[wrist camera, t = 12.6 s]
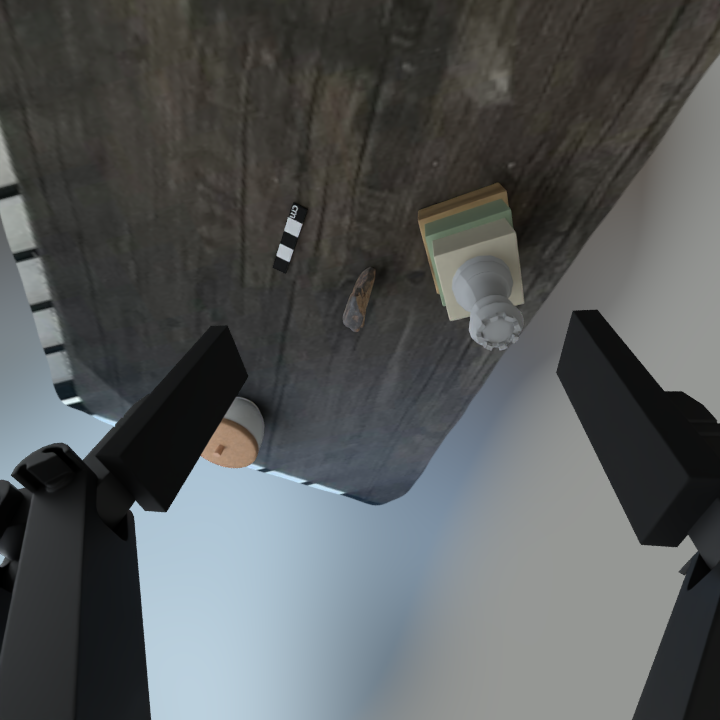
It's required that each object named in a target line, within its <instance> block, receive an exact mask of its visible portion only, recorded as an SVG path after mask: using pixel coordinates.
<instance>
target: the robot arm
mask: <svg viewBox="0 0 720 720" xmlns="http://www.w3.org/2000/svg"><path fill="white" fill-rule="evenodd" d="M556 373H557V375H558V377H559V379H560V381H561V383H562V385H563V387H564V389H565V391H566V393H567V395H568V397H569V399H570V401H571V403H572V405H573V407H574V409H575V412H576V414H577V416H578V418H579V420H580V422H581V424H582V426H583V428H584V430H585V432H586V434H587V436H588V438H589V440H590V442H591V444H592V446H593V448H594V450H595V452H596V454H597V456H598V458H599V460H600V462H601V464H602V466H603V469H604V471H605V473H606V475H607V477H608V479H609V481H610V483H611V485H612V487H613V489H614V491H615V493H616V495H617V497H618V499H619V501H620V503H621V505H622V507H623V509H624V511H625V514H626V515H627V518H628V519H629V522H630V524H631V526H632V528H633V530H634V532H635V534H636V536H637V538H638V540H639V542H640V544H641V545H652V546H666V547H667V546H668V547H678V546H679V544H680V543H681V542H682V541H683V540H684V539H685V537H686V536H687V535H689V537H690V538H691V540H692V541H693V543H694V545H695V546H696V548H697V550H698V552H697V553H696V554H695V555H694V556H693V557H692V558H691V559H690V560H689V561H688V562H687V563H686V564H685V565H684V566H683V567H682V569H681V570H680V571H679V572H680V573H681V574H683V575H685V574H686V576H685V579H684V581H683V584H682V587H681V589H680V592H679V595H678V598H677V600H676V603H675V606H674V608H673V611H672V614H671V616H670V619H669V622H668V624H667V627H666V630H665V633H664V635H663V638H662V641H661V643H660V646H659V649H658V651H657V654H656V657H655V659H654V662H653V665H652V667H651V670H650V673H649V676H648V678H647V681H646V684H645V686H644V689H643V692H642V694H641V697H640V700H639V702H638V705H637V708H636V711H635V714H634V716H633V719H632V720H720V423H719V424H718V423H717V420H716V419H715V418H714V416H713V415H712V414H711V413H710V412H709V411H708V410H707V409H706V408H705V407H704V405H702V404H701V403H699V402H698V401H696V400H695V399H693V398H691V397H690V396H688V395H687V394H685V393H684V392H682V391H679V392H678V391H672V392H670V391H664V390H663V389H662V388H661V387H660V385H659V384H658V383H657V382H656V381H655V379H654V378H653V377H652V376H651V375H650V373H649V372H648V371H647V370H646V368H645V367H644V366H643V365H642V364H641V362H640V361H639V360H638V359H637V358H636V356H635V355H634V354H633V353H632V352H631V350H630V349H629V348H628V347H627V345H626V344H625V343H624V342H623V340H622V339H621V338H620V337H619V336H618V334H617V333H616V332H615V331H614V330H613V328H612V327H611V326H610V325H609V323H608V322H607V321H606V320H605V319H604V317H603V316H602V315H601V314H600V312H599V311H598V310H580V311H579V310H578V311H573V312H572V316H571V319H570V323H569V327H568V331H567V334H566V338H565V342H564V346H563V349H562V353H561V357H560V361H559V364H558V368H557V372H556ZM247 378H248V374H247V372H246V369H245V367H244V364H243V362H242V360H241V357H240V355H239V352H238V350H237V347H236V345H235V343H234V340H233V338H232V335H231V333H230V330H229V328H228V326H227V325H226V326H210V328H209V329H208V330H207V331H206V332H205V333H204V334H203V335H202V337H201V338H200V339H199V340H198V341H197V342H196V343H195V344H194V345H193V347H192V348H191V349H190V350H189V351H188V352H187V353H186V354H185V356H184V357H183V358H182V359H181V360H180V361H179V362H178V363H177V364H176V366H175V367H174V368H173V369H172V370H171V371H170V372H169V373H168V375H167V376H166V377H165V378H164V379H163V380H162V381H161V382H160V383H159V385H158V386H157V387H156V388H155V389H154V390H153V391H152V392H151V394H148V395H146V396H145V397H143V398H142V399H141V400H139V401H138V402H136V403H135V404H134V405H133V406H132V407H131V408H130V409H129V410H128V411H127V412H126V413H125V415H124V418H121V419H120V420H119V421H118V422H117V423H116V424H115V427H113V428H112V429H111V430H110V431H109V432H108V433H107V434H106V435H105V436H104V438H103V439H102V440H101V441H100V442H99V443H98V444H97V445H96V446H95V447H94V448H93V449H92V451H91V452H90V453H89V454H88V455H87V456H86V457H85V458H84V459H83V460H81V458H80V457H78V455H77V454H76V453H75V452H74V451H73V450H72V449H71V448H70V447H69V446H68V445H66V444H64V443H54V444H51V445H48V446H45V447H42V448H41V449H39V450H37V451H35V452H33V453H31V454H30V455H29V456H27V457H26V458H25V459H23V460H22V461H21V462H20V463H19V464H18V465H17V466H16V467H15V469H14V471H13V472H12V474H11V476H12V477H14V478H15V479H16V480H17V481H18V482H19V483H21V484H22V485H23V486H24V487H25V488H22V489H17V488H16V487H15V486H13V485H12V484H11V483H10V482H8V481H5V480H0V554H1V555H3V556H5V559H4V561H3V563H2V564H1V565H0V720H151V713H150V702H149V691H148V678H147V666H146V654H145V642H144V630H143V618H142V606H141V594H140V582H139V571H138V559H137V548H136V535H135V523H134V516H133V513H132V512H131V511H130V510H129V509H130V507H131V506H132V505H133V503H134V502H135V500H136V501H137V502H138V504H139V505H140V506H141V507H142V508H143V509H144V510H145V511H155V512H167V510H168V509H169V507H170V505H171V504H172V502H173V501H174V499H175V497H176V495H177V493H178V492H179V490H180V489H181V487H182V485H183V484H184V482H185V481H186V479H187V477H188V476H189V474H190V472H191V471H192V469H193V467H194V465H195V464H196V462H197V461H198V459H199V457H200V456H201V454H202V452H203V451H204V449H205V447H206V446H207V444H208V443H209V441H210V439H211V438H212V436H213V434H214V433H215V431H216V429H217V428H218V426H219V424H220V423H221V421H222V419H223V418H224V416H225V414H226V413H227V411H228V409H229V408H230V406H231V404H232V403H233V401H234V399H235V398H236V396H237V394H238V393H239V391H240V389H241V388H242V386H243V385H244V383H245V381H246V380H247Z"/></svg>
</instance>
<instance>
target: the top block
mask: <svg viewBox="0 0 720 720" xmlns="http://www.w3.org/2000/svg"><path fill="white" fill-rule="evenodd" d="M432 244H433V255H434V260H435V264H436V268H437V272H438V276H439V280H440V284H441V288H442V292H443V295H444V299H445V303H446V307H447V311H448V315H449V319H450V321H453V320H457V319H461V318H466V317H470V313H471V312H468V311H466V310H465V309H463V308H462V307H461V306H460V305H459V304H458V303H457V301H456V298H455V296H454V293H453V290H452V281H453V277H454V275H455V273H456V271H457V269H458V268H459V267H460V266H461V265H462V264H464V263H465V262H466V261H467V260H469V259H472V258H474V257H477V256H487V255H491V256H494V257H497V258H499V259H502V260H503V261H504V262H505V264H506V265H507V266H508V267H509V269H510V272H511V276H512V279H513V287H512V292H511V295H510V297H509V298H508V299H509V300H510V301H511V302H512V303H513V306H515V305H520V304H524V295H523V286H522V278H521V270H520V262H519V253H518V245H517V237H516V232H515V230H514V229H513V228H512V226H511V225H510V224H509V222H508V221H507V220H506V218H503V219H499V220H496V221H493V222H490V223H487V224H484V225H480V226H477V227H474V228H471V229H468V230H465V231H462V232H458V233H455V234H452V235H449V236H446V237H443V238H440V239H436V240H433V241H432Z"/></svg>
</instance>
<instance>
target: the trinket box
mask: <svg viewBox="0 0 720 720" xmlns="http://www.w3.org/2000/svg"><path fill="white" fill-rule="evenodd" d="M264 432H265V425H264V420H263V417H262V415H261V413H260V410H259V408H258V407H257V406H256V405H255V404H254V403H253V402H252V401H250V400H248V399H246V398H242V397H236V398H235V399H234V401H233V403H232V404H231V406H230V408H229V409H228V411H227V413H226V414H225V416H224V418H223V419H222V421H221V423H220V424H219V426H218V428H217V429H216V431H215V433H214V434H213V436H212V438H211V439H210V441H209V443H208V444H207V446H206V447H205V449H204V451H203V452H202V454H201V456H202V457H203V458H205V459H206V460H208V461H210V462H212V463H214V464H217V465H220V466H223V467H228V468H242V467H246V466H248V465H250V464H252V463H253V462H254V461H255V459H256V457H257V455H258V451H259V449H260V446H261V444H262V441H263V437H264Z"/></svg>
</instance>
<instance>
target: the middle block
mask: <svg viewBox="0 0 720 720" xmlns="http://www.w3.org/2000/svg"><path fill="white" fill-rule="evenodd" d="M503 218H506V220H507V221H508V222H509V224H510V225H511V226H512V228H513V223H512V214H511V209H510V208H509V207H508V206H507V204H506V203H505V202H504V201H503V200H502V199H498V200H495V201H492V202H489V203H486V204H483V205H480V206H477V207H474V208H471V209H468V210H465V211H462V212H460V213H457V214H454V215H451V216H448V217H445V218H442V219H439V220H436V221H433V222H430V223H427V224H425V239H426V243H427V247H428V250H429V254H430V258H431V262H432V266H433V269H434V273H435V277H436V281H437V285H438V289H439V292H440V296H441V300H442V304H443V306H446V303H445V299H444V295H443V292H442V288H441V284H440V280H439V276H438V272H437V268H436V264H435V260H434V255H433V244H432V241H433V240H436V239H440V238H443V237H446V236H449V235H452V234H455V233H458V232H462V231H465V230H468V229H471V228H474V227H477V226H480V225H484V224H487V223H490V222H493V221H496V220H499V219H503Z"/></svg>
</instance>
